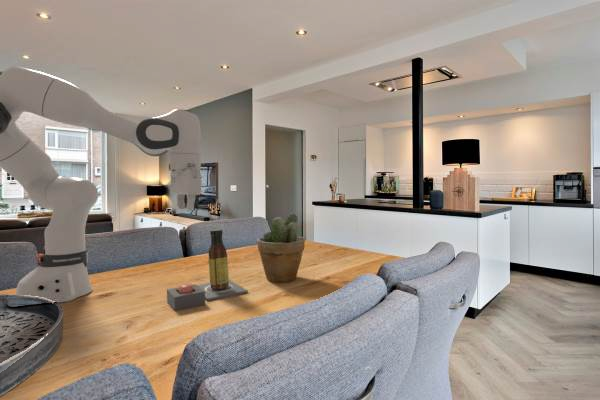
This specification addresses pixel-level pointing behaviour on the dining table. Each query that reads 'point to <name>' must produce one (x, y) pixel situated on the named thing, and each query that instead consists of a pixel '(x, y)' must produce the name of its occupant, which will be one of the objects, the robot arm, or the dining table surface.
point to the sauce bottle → (218, 262)
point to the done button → (185, 288)
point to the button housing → (185, 298)
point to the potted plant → (281, 250)
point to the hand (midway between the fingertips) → (185, 209)
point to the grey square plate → (222, 291)
